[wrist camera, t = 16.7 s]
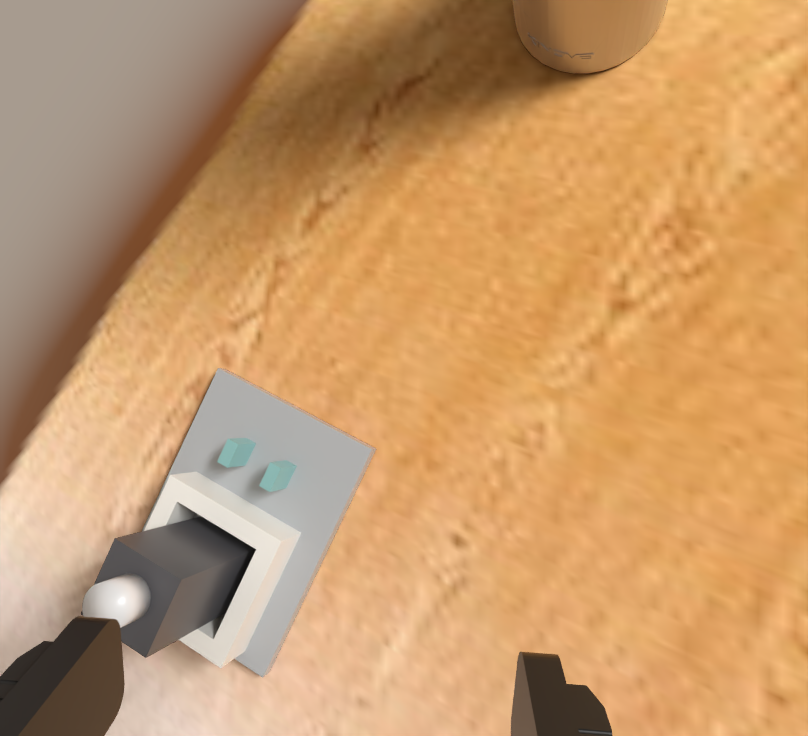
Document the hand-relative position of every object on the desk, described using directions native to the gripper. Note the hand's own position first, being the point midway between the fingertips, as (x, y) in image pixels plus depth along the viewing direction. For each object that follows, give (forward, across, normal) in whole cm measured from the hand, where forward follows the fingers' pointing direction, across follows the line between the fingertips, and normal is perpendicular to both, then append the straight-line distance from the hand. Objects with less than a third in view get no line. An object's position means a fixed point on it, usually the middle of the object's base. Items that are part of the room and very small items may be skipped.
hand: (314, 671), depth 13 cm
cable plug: (+26, +11, +14) cm, 32 cm away
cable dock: (+28, +10, +12) cm, 31 cm away
